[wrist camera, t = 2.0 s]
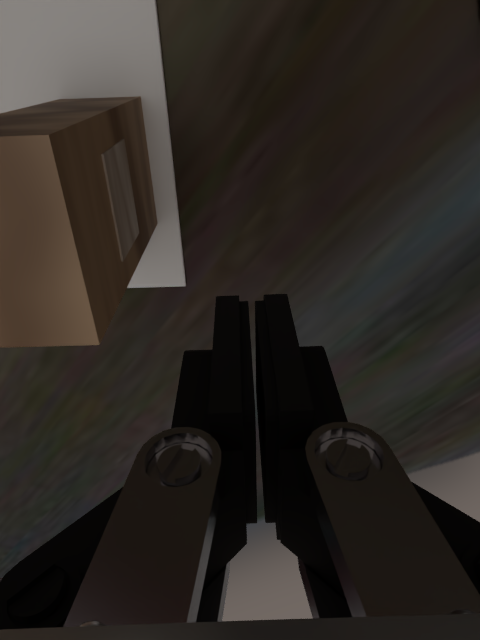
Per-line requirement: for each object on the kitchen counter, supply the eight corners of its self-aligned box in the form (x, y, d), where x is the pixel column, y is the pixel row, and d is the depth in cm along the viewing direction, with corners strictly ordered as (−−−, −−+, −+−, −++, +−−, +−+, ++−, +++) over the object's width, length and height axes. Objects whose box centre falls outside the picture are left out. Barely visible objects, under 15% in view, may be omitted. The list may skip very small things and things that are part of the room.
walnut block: (142, 96, 26) (51, 134, 14) (158, 223, 31) (102, 344, 18) (59, 99, 26) (-110, 139, 14) (87, 225, 31) (-22, 347, 18)
